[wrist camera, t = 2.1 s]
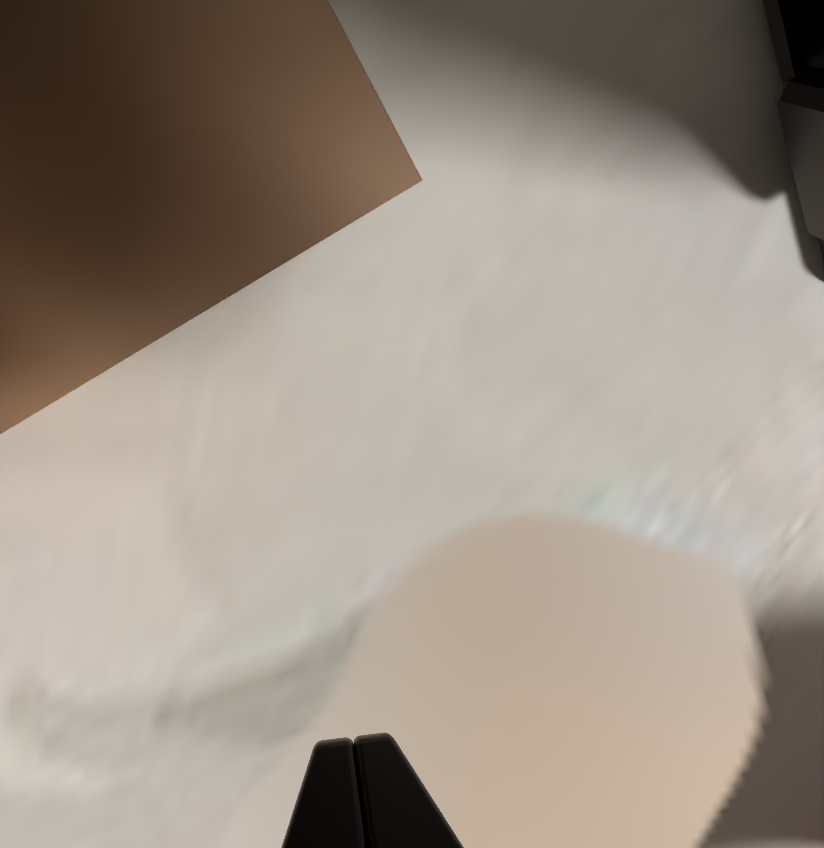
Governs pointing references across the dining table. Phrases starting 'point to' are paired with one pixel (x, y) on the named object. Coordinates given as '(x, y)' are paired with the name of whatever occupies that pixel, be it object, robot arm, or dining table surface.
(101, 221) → the base plate
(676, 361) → the dining table surface
